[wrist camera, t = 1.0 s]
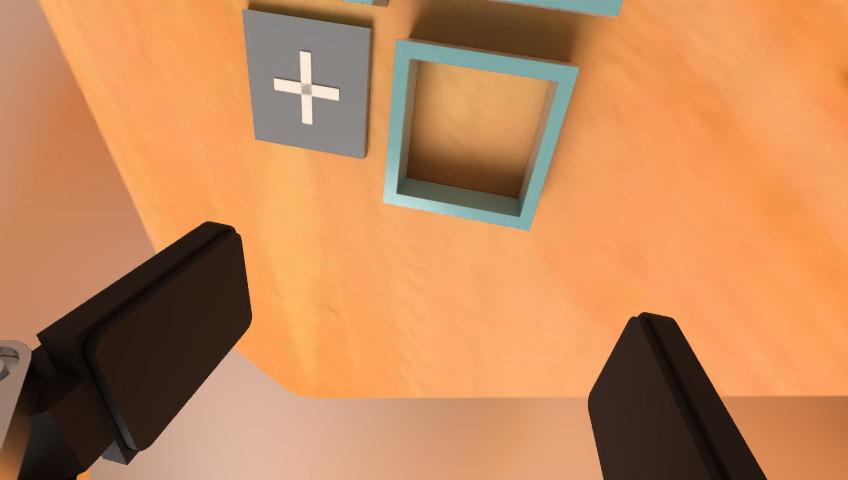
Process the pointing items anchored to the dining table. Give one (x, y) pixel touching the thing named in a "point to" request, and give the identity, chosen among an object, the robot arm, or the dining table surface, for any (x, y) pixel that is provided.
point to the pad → (309, 82)
